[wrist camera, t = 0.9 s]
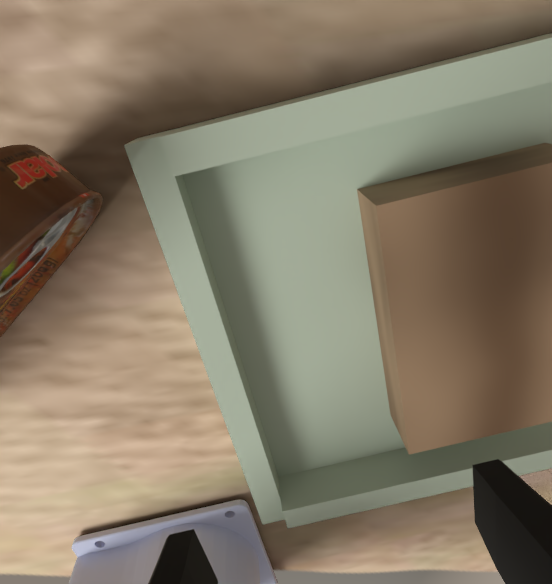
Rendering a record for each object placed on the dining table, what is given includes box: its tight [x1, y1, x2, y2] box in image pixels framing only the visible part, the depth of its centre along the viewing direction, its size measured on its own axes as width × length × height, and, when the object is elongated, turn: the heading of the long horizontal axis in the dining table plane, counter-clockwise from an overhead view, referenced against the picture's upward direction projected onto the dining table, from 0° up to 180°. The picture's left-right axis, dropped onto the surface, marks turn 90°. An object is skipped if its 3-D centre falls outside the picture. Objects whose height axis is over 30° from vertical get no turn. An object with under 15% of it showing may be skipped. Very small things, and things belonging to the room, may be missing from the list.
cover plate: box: [357, 143, 552, 455], centre depth 17 cm, size 7×11×2 cm, turn 13°
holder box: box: [124, 33, 552, 528], centre depth 18 cm, size 15×18×2 cm
